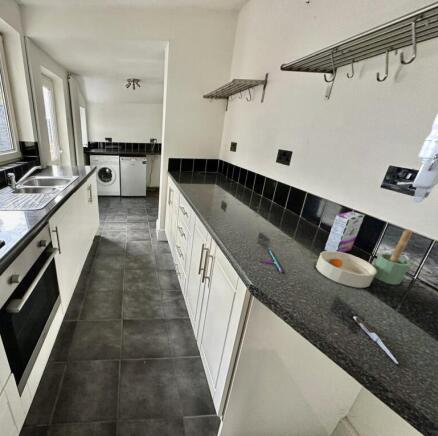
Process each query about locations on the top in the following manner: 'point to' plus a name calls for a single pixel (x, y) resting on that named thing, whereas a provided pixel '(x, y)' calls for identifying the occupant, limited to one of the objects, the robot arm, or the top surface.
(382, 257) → the holder
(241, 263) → the top surface
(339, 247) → the candy bar box
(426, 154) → the robot arm
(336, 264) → the ball
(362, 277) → the bowl
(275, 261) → the squeegee
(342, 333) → the top surface
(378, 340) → the pocket knife
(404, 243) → the stirring stick
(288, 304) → the top surface
